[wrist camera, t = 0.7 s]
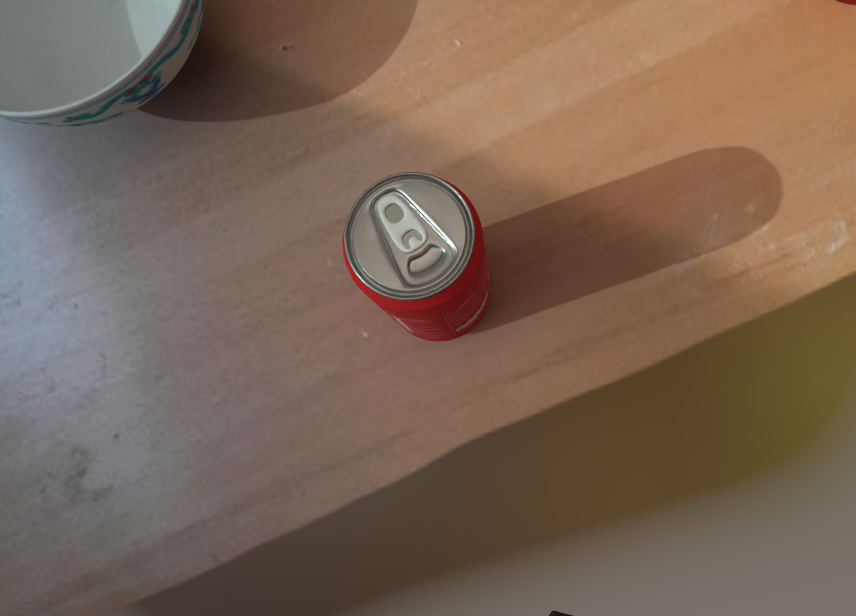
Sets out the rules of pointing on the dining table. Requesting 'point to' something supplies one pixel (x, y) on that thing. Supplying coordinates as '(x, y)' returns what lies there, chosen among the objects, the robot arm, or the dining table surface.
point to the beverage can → (419, 254)
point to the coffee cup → (848, 1)
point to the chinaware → (90, 56)
